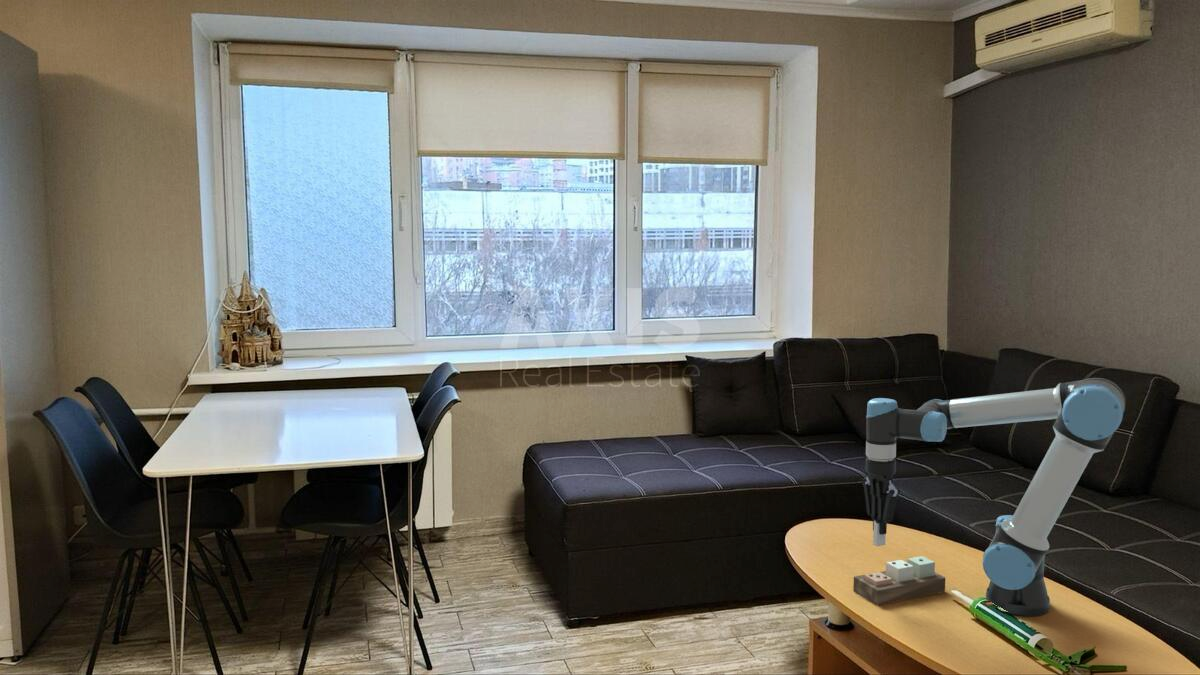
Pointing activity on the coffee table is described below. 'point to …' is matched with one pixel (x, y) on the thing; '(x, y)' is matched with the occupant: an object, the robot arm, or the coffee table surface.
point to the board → (899, 588)
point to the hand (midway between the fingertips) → (879, 544)
